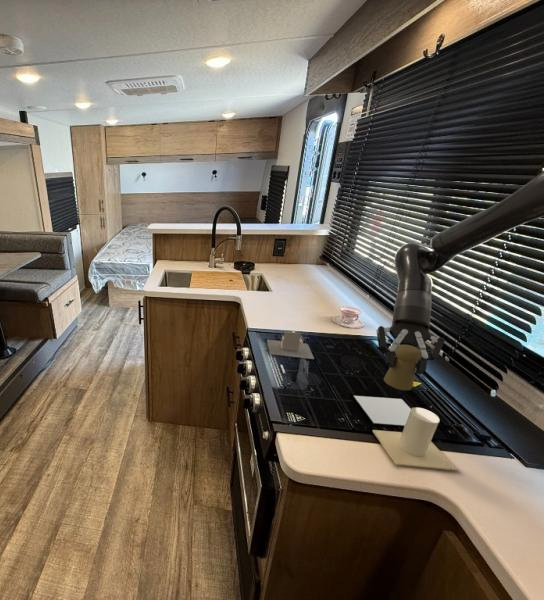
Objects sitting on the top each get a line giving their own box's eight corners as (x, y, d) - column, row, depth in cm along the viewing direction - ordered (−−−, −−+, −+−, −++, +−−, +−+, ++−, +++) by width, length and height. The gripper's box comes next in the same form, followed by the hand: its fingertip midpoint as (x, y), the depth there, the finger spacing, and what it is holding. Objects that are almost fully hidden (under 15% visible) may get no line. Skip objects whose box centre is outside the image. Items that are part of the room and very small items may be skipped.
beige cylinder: (416, 440, 75) (429, 408, 71) (430, 457, 70) (445, 424, 67) (393, 438, 76) (405, 406, 72) (406, 455, 71) (420, 422, 67)
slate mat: (401, 400, 89) (401, 398, 89) (428, 428, 79) (428, 427, 79) (352, 396, 91) (353, 395, 91) (373, 424, 81) (373, 423, 81)
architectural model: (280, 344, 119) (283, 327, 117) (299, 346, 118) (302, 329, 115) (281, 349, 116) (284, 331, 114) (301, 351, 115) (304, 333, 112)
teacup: (326, 317, 141) (328, 305, 139) (350, 315, 142) (353, 303, 140) (344, 329, 130) (348, 316, 128) (370, 327, 131) (374, 314, 129)
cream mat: (424, 435, 77) (424, 434, 77) (455, 470, 68) (456, 469, 68) (372, 431, 79) (372, 429, 78) (396, 464, 69) (396, 463, 69)
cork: (391, 389, 79) (404, 352, 75) (379, 375, 85) (390, 340, 80) (417, 391, 78) (432, 354, 74) (403, 377, 84) (416, 342, 80)
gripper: (382, 299, 83) (373, 358, 78) (453, 310, 76) (448, 375, 71) (376, 310, 89) (367, 365, 85) (441, 321, 82) (436, 381, 77)
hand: (404, 369), depth 78 cm, fingers closed on cork, 5 cm apart
